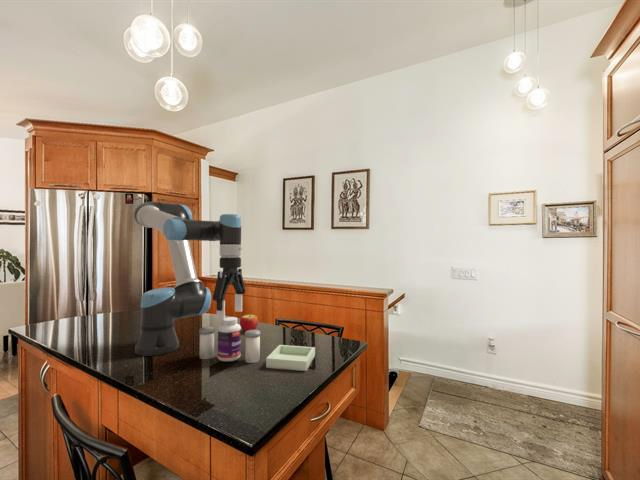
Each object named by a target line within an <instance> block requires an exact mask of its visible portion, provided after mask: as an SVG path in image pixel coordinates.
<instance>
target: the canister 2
mask: <svg viewBox="0 0 640 480" xmlns="http://www.w3.org/2000/svg"><path fill="white" fill-rule="evenodd" d="M244 336H245V357H244V359H245V361H244V362H245V363H248V364H255V363H256V364H257V363H258V362H260V360H261V358H260V357H261V356H260V355H261V353H260V352H261V350H260V349H261V330H259V329H255V330H248V331H246V332H245V331H244Z"/></svg>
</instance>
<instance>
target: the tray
mask: <svg viewBox="0 0 640 480" xmlns="http://www.w3.org/2000/svg"><path fill="white" fill-rule="evenodd" d="M315 357H316V347H315V346H312V347H311V346H301V345H287V344H279V345H278V346H276V348H275V349H274V350H273V351H272V352H271V353H270V354H269V355H268V356H267V357H266V358H265V362H266V363H265V368H267V369H276V370H277V369H279V370H289V371H300V372H301V371H302V372H303V371H304V372H307V370H308V369H309V367H310V366H311V364H312V362H313V360H314V358H315Z"/></svg>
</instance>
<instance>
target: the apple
mask: <svg viewBox="0 0 640 480" xmlns="http://www.w3.org/2000/svg"><path fill="white" fill-rule="evenodd" d="M252 311H253V310H252V309H251V310H250V311H249V314H245V315H242V316H241V317H240V319H239V325H240V326H241V331H243V332H244V333H245V332H246V331H248V330H257V327H258V323H259V318H258V316H257V315H255V314H251V313H252Z"/></svg>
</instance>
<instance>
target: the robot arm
mask: <svg viewBox="0 0 640 480" xmlns="http://www.w3.org/2000/svg"><path fill="white" fill-rule="evenodd" d="M192 213H193V212H192V211H191V209H190V208H189V207H188V206H187V205H184V204H180V203H169V202H161V201H146V202H142V203H140V204H139V205H137V206H136V207H135V208H134V211H133V218H134V221H135V222H136V223H137V225H140V226H141V227H144V228H146V229H147V228H148V229H149V228H150V229H151V228H152V229H155V230H156V231H159V232H161V233H162V235H163V236H164V237H165V239H166V240H167V243H168V249H169V253H170V259H171V262H172V267H173V272H174V278H175V282H176V285H175V286H174V287H170V286H169V287H167V286H166V287H159V288H155V289H150V290H148V291H145V292H144V293H143V294H142V296H141V299H140V305H139V306H140V332H139V335H138V338H137V340H136V344H135V347H134V353H135V354H136V355H138V356H144V357H148V356H149V357H150V356H159V355H164V354H167V353H168V354H169V353H171V352H174V351H175V350H177V349H178V348H179V345H180V344H179V342H180V341H179V338H178V335H177V333H176V330H175V320H179V319H184V318H190V317H198V316H200V315H204V314H206V313H207V312H208V311H209V309H210V308H211V305H212V301H214V302H216V321H222V320H225V318H226V300H225V297H226V294H227V293H228V289H229V286H230V285H231V284H232V287H233V289H234V291H235V293H234V312H239V313H241V312H243V295H244V294H245V293H246V286H245V283H244V278H243V273H242V268H241V267H242V258H241V257H240V256H241V255H242V253H241V252H242V250H243V247H242V227H243V226H242V218H241V216H240V214H235V213H234V214H233V213H232V214H231V213H223V214H221V215H220V216H219V220H215V221H214V220H213V221H212V220H202V219H201V220H199V219H196V220H195V219H193V214H192ZM190 241H197V242H201V241H203V242H204V241H205V242H206V241H207V242H219V257H220V258H219V268H220V269H222V271H221V270H219V271H217V279H216V283H215V287H214V289H213V290H214V291H213V294H212V292H211V290H210V288H208V287H207V286H204V284H203V281H202V280H200V279H198V275H197V274H198V273H197V270H196V266H195V261H194V257H193V253H192V249H191V244H190Z"/></svg>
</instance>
